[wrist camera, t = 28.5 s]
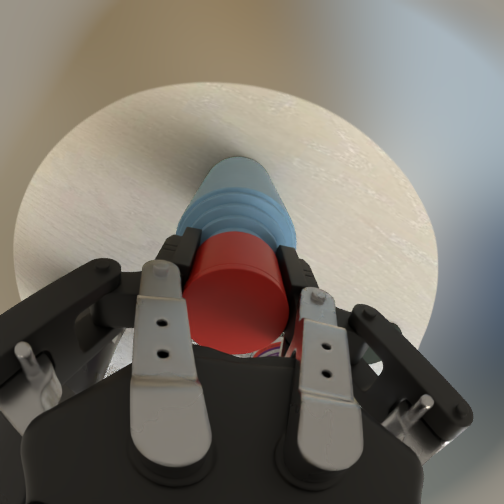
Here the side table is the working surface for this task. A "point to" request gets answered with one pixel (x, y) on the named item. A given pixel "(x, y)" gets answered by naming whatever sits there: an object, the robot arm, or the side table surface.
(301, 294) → the robot arm
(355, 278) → the side table surface
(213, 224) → the bottle
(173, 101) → the side table surface
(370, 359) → the coaster
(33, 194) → the side table surface
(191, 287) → the cap
